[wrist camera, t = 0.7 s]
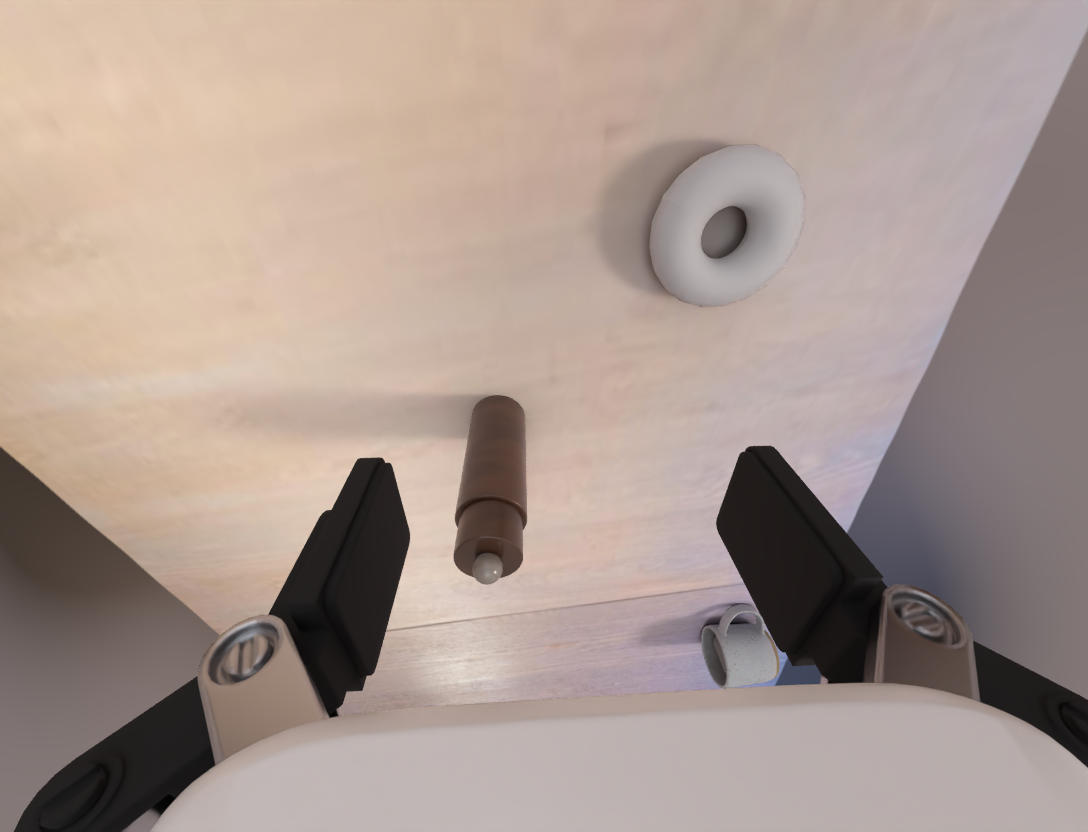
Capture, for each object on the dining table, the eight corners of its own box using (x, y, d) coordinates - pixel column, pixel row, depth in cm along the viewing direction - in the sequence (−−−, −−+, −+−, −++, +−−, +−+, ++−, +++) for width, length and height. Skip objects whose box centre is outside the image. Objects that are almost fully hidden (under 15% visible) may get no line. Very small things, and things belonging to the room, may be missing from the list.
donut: (749, 304, 32) (816, 156, 26) (771, 321, 29) (850, 160, 24) (627, 289, 31) (669, 130, 25) (638, 305, 28) (687, 131, 22)
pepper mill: (505, 386, 35) (496, 544, 22) (535, 423, 38) (543, 587, 24) (461, 411, 36) (426, 576, 23) (492, 446, 39) (478, 613, 25)
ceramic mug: (748, 638, 63) (774, 694, 57) (696, 642, 63) (717, 698, 56) (768, 599, 57) (800, 656, 51) (711, 602, 57) (736, 660, 51)
